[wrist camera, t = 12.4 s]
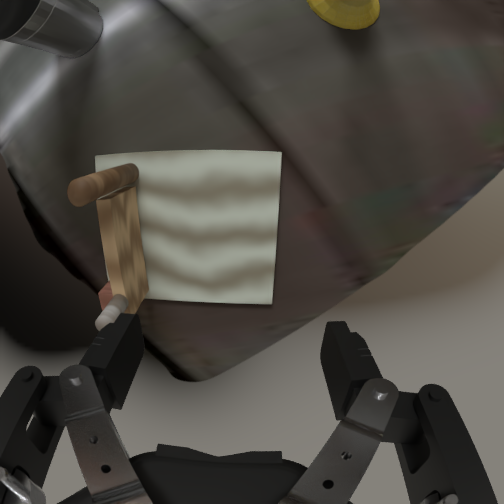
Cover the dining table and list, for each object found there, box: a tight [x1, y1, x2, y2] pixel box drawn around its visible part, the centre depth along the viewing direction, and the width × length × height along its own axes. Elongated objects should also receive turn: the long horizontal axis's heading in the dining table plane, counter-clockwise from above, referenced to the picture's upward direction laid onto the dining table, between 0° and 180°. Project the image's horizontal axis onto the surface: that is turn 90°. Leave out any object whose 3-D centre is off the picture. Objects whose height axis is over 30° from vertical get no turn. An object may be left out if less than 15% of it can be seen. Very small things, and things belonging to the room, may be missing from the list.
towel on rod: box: [67, 150, 282, 310], centre depth 38 cm, size 24×28×16 cm
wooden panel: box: [95, 186, 149, 331], centre depth 37 cm, size 17×2×15 cm, turn 0°
